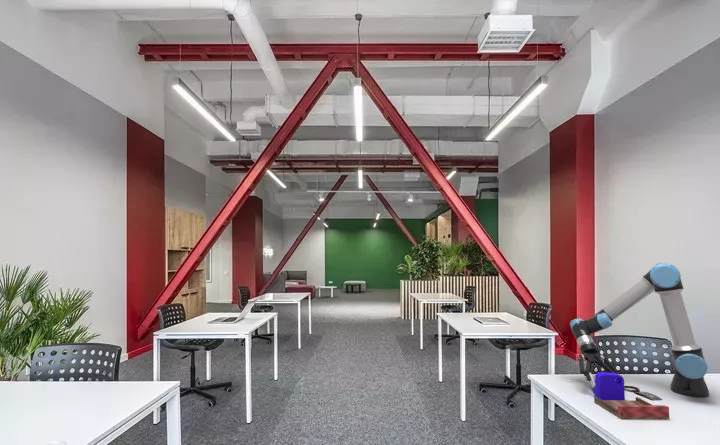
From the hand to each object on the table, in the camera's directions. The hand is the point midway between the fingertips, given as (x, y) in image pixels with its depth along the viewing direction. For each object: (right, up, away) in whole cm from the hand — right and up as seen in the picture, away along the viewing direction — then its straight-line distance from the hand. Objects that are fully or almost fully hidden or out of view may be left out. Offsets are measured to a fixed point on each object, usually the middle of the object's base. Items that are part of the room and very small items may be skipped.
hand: (605, 386), depth 204 cm
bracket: (0, -5, +3) cm, 6 cm away
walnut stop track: (0, -3, -18) cm, 19 cm away
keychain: (+20, -6, +5) cm, 21 cm away
